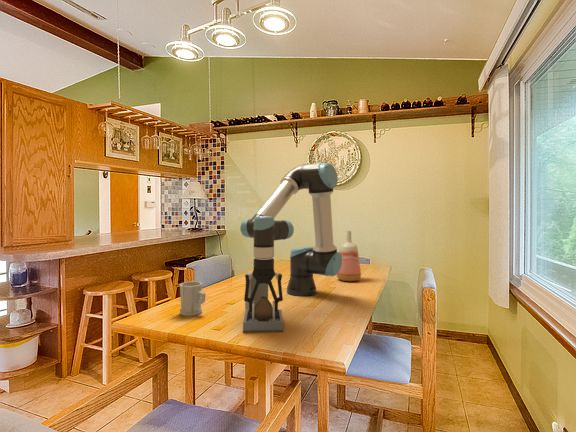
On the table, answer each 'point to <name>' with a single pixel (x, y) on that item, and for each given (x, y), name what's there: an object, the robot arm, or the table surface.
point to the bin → (263, 323)
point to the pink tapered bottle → (349, 261)
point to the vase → (263, 309)
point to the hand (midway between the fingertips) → (263, 319)
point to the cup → (191, 298)
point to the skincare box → (261, 291)
